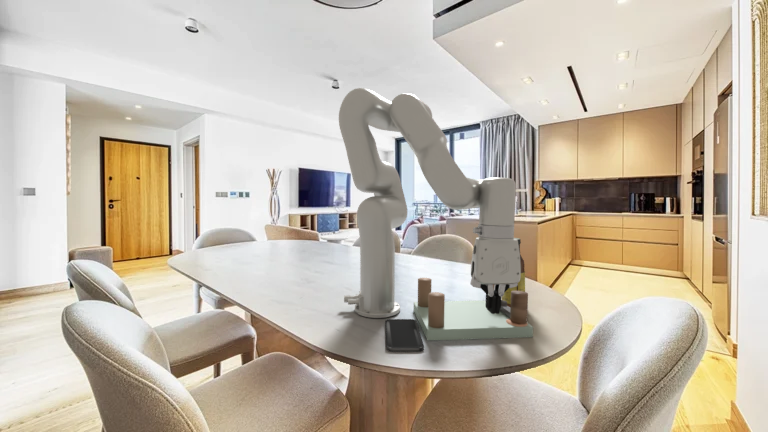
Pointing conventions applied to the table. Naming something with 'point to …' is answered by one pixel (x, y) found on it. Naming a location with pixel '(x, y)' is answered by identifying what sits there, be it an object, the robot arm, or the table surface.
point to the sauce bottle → (521, 283)
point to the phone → (403, 336)
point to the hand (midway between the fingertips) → (492, 311)
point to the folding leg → (516, 307)
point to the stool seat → (462, 318)
